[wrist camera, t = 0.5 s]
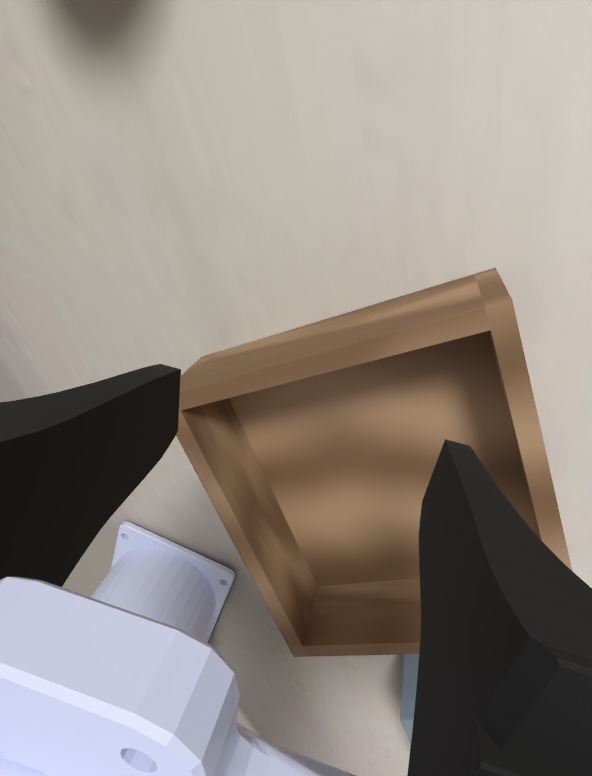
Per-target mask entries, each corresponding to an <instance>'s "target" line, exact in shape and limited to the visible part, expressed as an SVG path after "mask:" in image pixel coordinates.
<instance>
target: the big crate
mask: <svg viewBox="0 0 592 776" xmlns="http://www.w3.org/2000/svg"><path fill="white" fill-rule="evenodd" d="M176 436H177V438H178V440H179V441H180V443H181V445H182V447H183V449H184V451H185V453H186V455H187V456H188V458H189V460H190V462H191V464H192V466H193V468H194V470H195V472H196V473H197V475H198V477H199V479H200V481H201V483H202V485H203V487H204V488H205V490H206V492H207V494H208V496H209V498H210V500H211V502H212V503H213V505H214V507H215V509H216V511H217V513H218V515H219V517H220V519H221V520H222V522H223V524H224V526H225V528H226V530H227V532H228V534H229V535H230V537H231V539H232V541H233V543H234V545H235V547H236V549H237V550H238V552H239V554H240V556H241V558H242V560H243V562H244V564H245V566H246V567H247V569H248V571H249V573H250V575H251V577H252V579H253V581H254V582H255V584H256V586H257V588H258V590H259V592H260V594H261V596H262V597H263V599H264V601H265V603H266V605H267V607H268V609H269V611H270V613H271V614H272V616H273V618H274V620H275V622H276V624H277V626H278V628H279V629H280V631H281V633H282V635H283V637H284V639H285V641H286V643H287V644H288V646H289V648H290V650H291V652H292V654H293V656H294V657H301V656H347V655H393V654H419V650H420V637H421V597H420V568H419V526H420V516H421V507H422V500H423V497H424V495H425V492H426V489H427V487H428V484H429V481H430V479H431V476H432V473H433V470H434V468H435V465H436V462H437V460H438V457H439V454H440V452H441V449H442V446H443V443H444V441H445V439H446V440H450V441H454V442H458V443H461V444H465V445H469V446H470V447H471V448H472V449H473V451H474V452H475V454H476V455H477V457H478V458H479V460H480V461H481V463H482V464H483V466H484V467H485V469H486V470H487V472H488V473H489V475H490V476H491V478H492V479H493V480H494V482H495V483H496V485H497V486H498V487H499V489H500V490H501V492H502V493H503V494H504V496H505V497H506V498H507V500H508V501H509V502H510V504H511V505H512V506H513V508H514V509H515V510H516V511H517V513H518V514H519V515H520V516H521V517H522V519H523V520H524V521H525V522H526V523H527V525H528V526H529V527H530V528H531V529H532V531H533V532H534V533H535V534H536V535H537V536H538V537H539V538H540V540H541V541H542V542H543V543H544V544H545V545H546V546H547V547H548V548H549V549H550V550H551V551H552V552H553V553H554V554H555V555H556V556H557V557H558V558H559V559H560V560H561V561H562V562H563V563H564V564H565V565H566V566H567V567H568V568H569V569H570V570H571V571H572V568H571V564H570V559H569V555H568V550H567V546H566V541H565V537H564V532H563V528H562V523H561V519H560V514H559V510H558V505H557V501H556V496H555V492H554V487H553V483H552V478H551V474H550V469H549V464H548V460H547V455H546V451H545V446H544V442H543V437H542V433H541V428H540V424H539V419H538V415H537V410H536V406H535V401H534V397H533V392H532V388H531V383H530V379H529V374H528V370H527V365H526V361H525V356H524V352H523V347H522V343H521V338H520V334H519V329H518V325H517V320H516V316H515V311H514V307H513V302H512V299H511V297H510V295H509V293H508V291H507V289H506V287H505V285H504V283H503V282H502V280H501V278H500V276H499V274H498V272H497V270H496V268H493V269H490V270H487V271H484V272H480V273H477V274H474V275H470V276H467V277H464V278H460V279H457V280H454V281H451V282H447V283H444V284H441V285H437V286H434V287H431V288H428V289H424V290H421V291H418V292H414V293H411V294H408V295H405V296H401V297H398V298H395V299H391V300H388V301H385V302H382V303H378V304H375V305H372V306H368V307H365V308H362V309H359V310H355V311H352V312H349V313H345V314H342V315H339V316H336V317H332V318H329V319H326V320H322V321H319V322H316V323H313V324H309V325H306V326H303V327H299V328H296V329H293V330H290V331H286V332H283V333H280V334H276V335H273V336H270V337H267V338H263V339H260V340H257V341H253V342H250V343H247V344H244V345H240V346H237V347H234V348H230V349H227V350H224V351H220V352H217V353H214V354H211V355H207V356H204V357H201V358H200V359H199V360H198V361H197V362H196V363H195V364H193V365H192V366H191V367H190V368H189V369H188V370H187V371H186V372H185V373H184V374H183V375H181V376H180V397H179V420H178V432H177V434H176Z"/></svg>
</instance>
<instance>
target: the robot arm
mask: <svg viewBox="0 0 592 776" xmlns="http://www.w3.org/2000/svg"><path fill="white" fill-rule="evenodd" d="M180 375H181V369H177V368H173V367H169V366H166V365H162V364H158V365H153V366H149V367H145V368H141V369H138V370H135V371H131V372H128V373H125V374H121V375H118V376H115V377H111V378H108V379H105V380H101V381H98V382H95V383H91V384H87V385H84V386H80V387H76V388H72V389H68V390H65V391H61V392H57V393H52V394H48V395H43V396H38V397H33V398H27V399H22V400H16V401H9V402H2V403H0V776H356V775H353V774H350V773H348V772H345V771H342V770H340V769H337V768H334V767H332V766H329V765H326V764H324V763H321V762H318V761H316V760H313V759H310V758H308V757H305V756H302V755H299V754H297V753H294V752H291V751H289V750H286V749H283V748H281V747H278V746H275V745H274V744H272V743H270V742H269V741H267V740H265V739H264V738H262V737H260V736H259V735H257V734H255V733H254V732H252V731H250V730H249V729H247V728H245V727H244V726H242V725H240V724H238V723H237V722H236V716H237V711H238V705H239V699H240V695H239V691H238V686H237V682H236V678H235V674H234V672H233V670H232V668H231V666H230V665H229V664H228V663H227V662H226V661H225V660H224V659H223V658H222V656H221V655H220V654H219V653H218V652H217V651H216V650H215V649H214V648H213V647H212V646H211V645H210V644H209V643H207V642H208V640H209V637H210V635H211V633H212V630H213V628H214V625H215V623H216V621H217V618H218V616H219V614H220V611H221V609H222V606H223V604H224V602H225V599H226V597H227V595H228V592H229V590H230V587H231V585H232V583H233V580H234V578H235V573H234V571H233V570H231V569H230V568H228V567H225V566H223V565H221V564H219V563H217V562H215V561H213V560H210V559H208V558H206V557H204V556H202V555H200V554H197V553H195V552H193V551H191V550H189V549H187V548H184V547H182V546H180V545H178V544H176V543H174V542H171V541H169V540H167V539H165V538H163V537H161V536H158V535H156V534H154V533H152V532H150V531H148V530H146V529H143V528H141V527H139V526H137V525H135V524H133V523H130V522H123V523H122V525H121V526H120V527H119V532H118V537H117V542H116V547H115V552H114V556H113V562H112V566H111V571H110V572H109V574H108V575H107V576H106V577H105V579H104V580H103V582H102V583H101V584H100V585H99V587H98V588H97V589H96V591H95V592H94V593H93V595H92V596H91V597H88V596H85V595H82V594H80V593H77V592H74V591H71V590H68V589H65V588H62V586H63V584H64V583H65V581H66V579H67V578H68V576H69V575H70V573H71V572H72V570H73V569H74V567H75V566H76V564H77V563H78V561H79V560H80V558H81V557H82V555H83V554H84V552H85V551H86V549H87V548H88V546H89V545H90V544H91V542H92V541H93V539H94V538H95V537H96V535H97V534H98V532H99V531H100V529H101V528H102V527H103V526H104V524H105V523H106V522H107V521H108V519H109V518H110V517H111V516H112V514H113V513H114V512H115V511H116V510H117V509H118V508H119V506H120V505H121V504H122V503H123V502H124V501H125V500H126V498H127V497H128V496H129V495H130V494H131V493H132V492H133V490H134V489H135V488H136V487H137V486H138V485H139V484H140V482H141V481H142V480H143V479H144V478H145V477H146V476H147V474H148V473H149V472H150V471H151V470H152V469H153V467H154V466H155V465H156V464H157V463H158V461H159V460H160V459H161V458H162V456H163V455H164V453H165V451H166V450H167V448H168V447H169V445H170V444H171V442H172V440H173V439H174V437H175V436H176V434H177V432H178V420H179V397H180ZM419 568H420V597H421V637H420V650H419V664H418V676H417V688H416V699H415V710H414V720H413V730H412V739H411V749H410V758H409V768H408V776H592V588H590V587H589V586H588V585H587V584H586V583H585V582H584V581H582V580H581V579H580V578H579V577H578V576H577V575H576V574H575V573H573V572H572V571H571V570H570V569H569V568H568V567H567V566H566V565H565V564H564V563H563V562H562V561H561V560H560V559H559V558H558V557H557V556H556V555H555V554H554V553H553V552H552V551H551V550H550V549H549V548H548V547H547V546H546V545H545V544H544V543H543V542H542V541H541V540H540V538H539V537H538V536H537V535H536V534H535V533H534V532H533V531H532V529H531V528H530V527H529V526H528V525H527V523H526V522H525V521H524V520H523V519H522V517H521V516H520V515H519V514H518V513H517V511H516V510H515V509H514V508H513V506H512V505H511V504H510V502H509V501H508V500H507V498H506V497H505V496H504V494H503V493H502V492H501V490H500V489H499V487H498V486H497V485H496V483H495V482H494V480H493V479H492V478H491V476H490V475H489V473H488V472H487V470H486V469H485V467H484V466H483V464H482V463H481V461H480V460H479V458H478V457H477V455H476V454H475V452H474V451H473V449H472V448H471V447H470V446H469V445H465V444H461V443H458V442H454V441H450V440H446V439H445V441H444V443H443V446H442V449H441V452H440V454H439V457H438V460H437V462H436V465H435V468H434V470H433V473H432V476H431V479H430V481H429V484H428V487H427V489H426V492H425V495H424V497H423V500H422V507H421V516H420V526H419Z"/></svg>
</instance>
